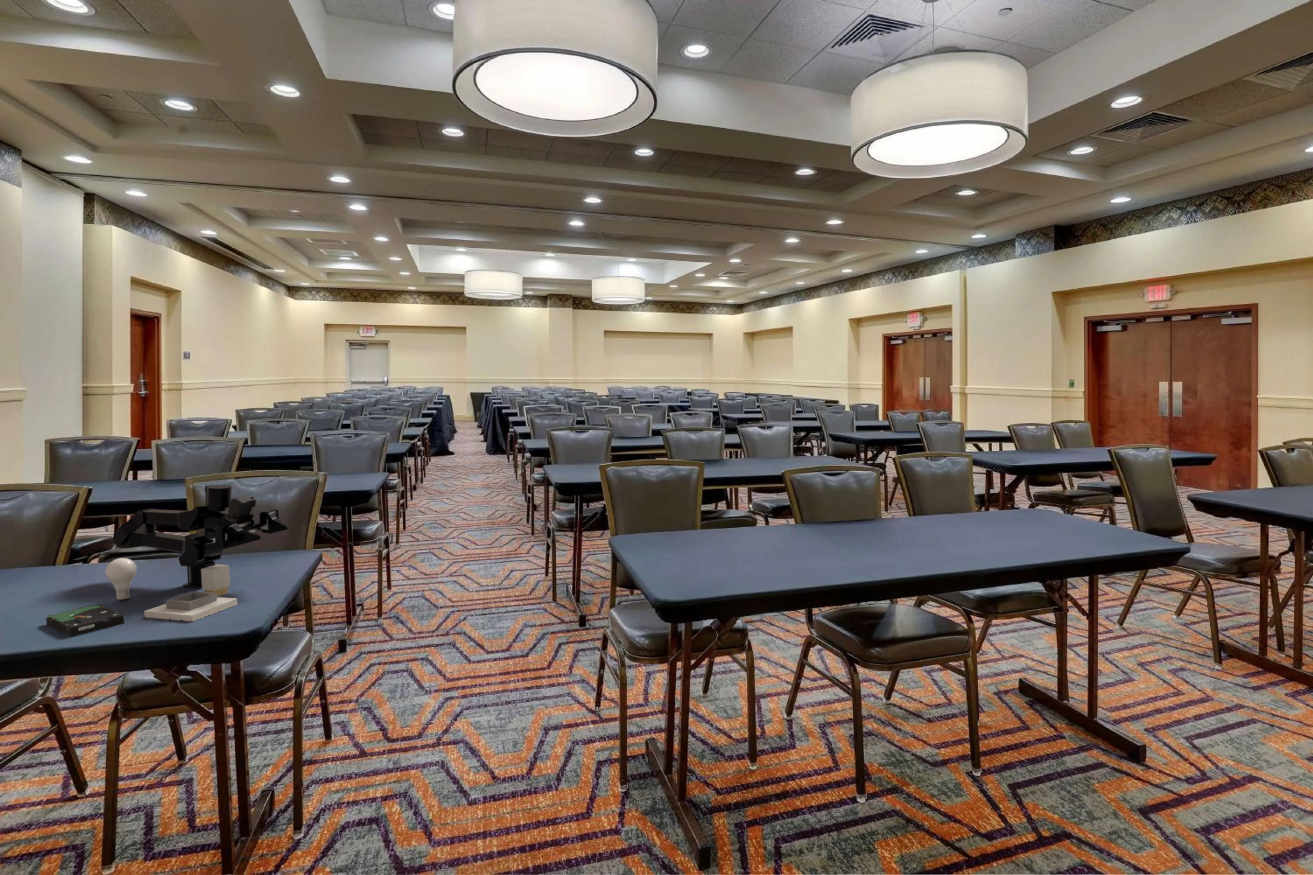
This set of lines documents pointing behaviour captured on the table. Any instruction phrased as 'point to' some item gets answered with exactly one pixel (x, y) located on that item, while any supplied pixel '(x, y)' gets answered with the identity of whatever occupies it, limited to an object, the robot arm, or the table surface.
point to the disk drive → (85, 620)
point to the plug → (216, 579)
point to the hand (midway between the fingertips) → (274, 532)
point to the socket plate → (191, 606)
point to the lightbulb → (121, 576)
